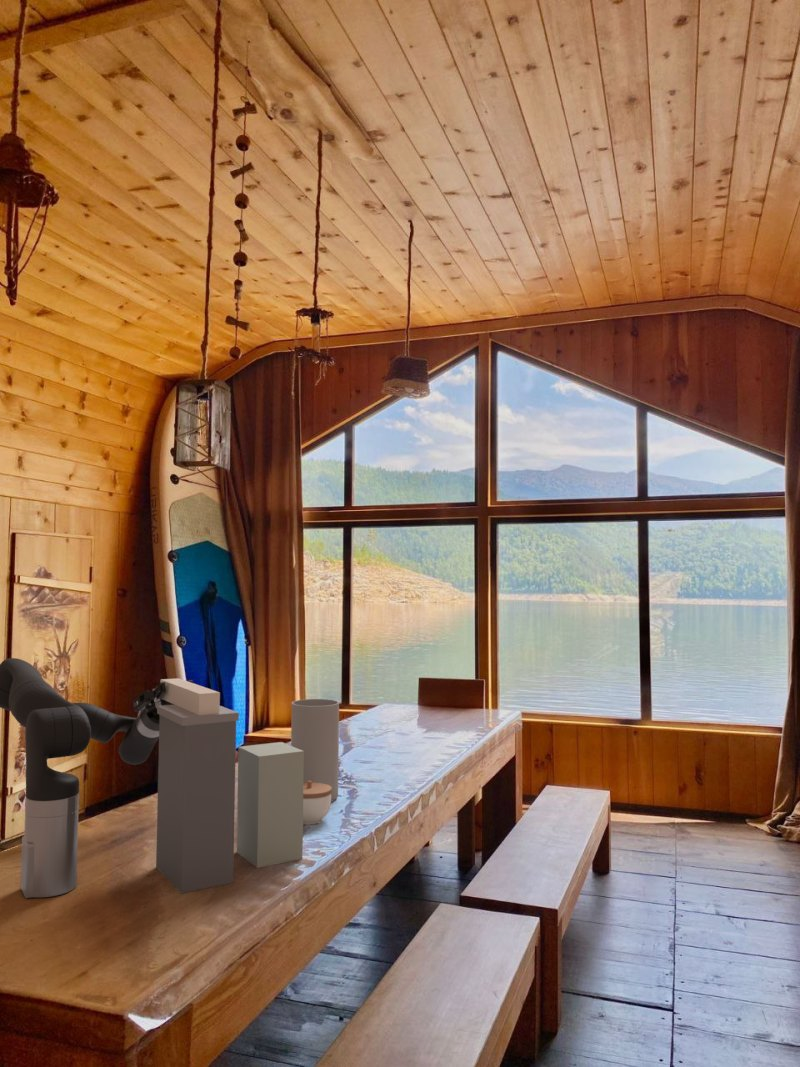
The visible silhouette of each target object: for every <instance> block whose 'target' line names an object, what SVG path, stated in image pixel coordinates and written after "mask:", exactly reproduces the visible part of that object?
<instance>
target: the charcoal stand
mask: <svg viewBox="0 0 800 1067" xmlns="http://www.w3.org/2000/svg"><path fill="white" fill-rule="evenodd" d="M157 714H159V715H160V720H159V739H158V762H157V763H158V764H157V766H158V770H157V813H156V814H157V815H156V816H157V817H156V818H157V819H156V858H155V860H156V861H155V864H156V866H155V867H156V868H157V870H158V871H159V872H160V873H161V874H162V875H163V876H164V878H166V879H167V880H168V881H169V882H170V883H171V884H172V886H174V888H176V890H177V891H178V892H180V894H185V893H189V892H194V891H200V890H204V889H210V888H215V887H219V886H224V885H228V884H234V865H235V864H234V861H235V858H234V856H235V853H234V852H235V851H234V850H235V805H236V804H235V803H236V802H235V800H236V749H237V748H236V747H237V746H236V745H237V744H236V742H237V739H236V737H237V721H239V719H240V718H239V715H240V712H238V711H236V710H233V709H229V708H228V707H224V706H222V705H220V710H219V714H208V715H197V714H195V713H193V712H190V711H188V710H186V709H184V708H181V707H179V706H177V705H163V706H157Z"/></svg>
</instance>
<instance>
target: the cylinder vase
mask: <svg viewBox="0 0 800 1067" xmlns="http://www.w3.org/2000/svg"><path fill="white" fill-rule="evenodd" d="M290 721H291V725H290V727H291V728H290V729H291V730H290V738H291V739H290V746H293V747H295V748H298V749H300V750H302V751H304V775H303V783H307V781H312V783H323V784H327V785H329V786H331V787H332V793H331V802H333V801H335V800H336V799H337V798H338V796H339V754H340V752H339V751H340V750H339V746H340V745H339V744H340V742H339V738H340V737H339V736H340V735H339V734H340V702H339V701H338V700H333V699H328V698H327V699H326V698H324V699H323V698H310V699H309V698H308V699H297V700H294V701H291V720H290Z"/></svg>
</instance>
